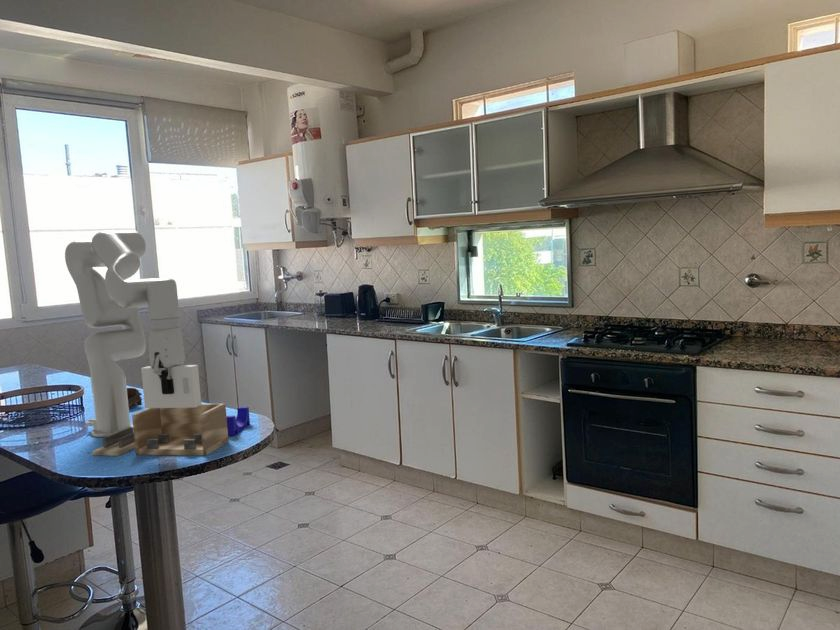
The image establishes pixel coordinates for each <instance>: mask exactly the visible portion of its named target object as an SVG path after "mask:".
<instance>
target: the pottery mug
mask: <svg viewBox="0 0 840 630" xmlns="http://www.w3.org/2000/svg"><path fill="white" fill-rule="evenodd" d="M139 391H140V390H138V389H137V388H134V387H127V396H128V406H129V407H132V406H134V405H136V404H137V405H142V401H143V398H142V397H141V396H143V394H142V393H141V392H139Z"/></svg>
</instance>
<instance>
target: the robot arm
mask: <svg viewBox="0 0 840 630" xmlns="http://www.w3.org/2000/svg"><path fill="white" fill-rule="evenodd" d="M146 247H147V246H146V241H145V238H144V237H143V236H142V234H141V233H140V232H138V231H136V230H132V229H131V230H130V229H128V230H127V229H124V230H121V229H120V230H115V229H113V230H110V229H109V230H102V231H99V232H97V233H95V235H93V237H92V238H91V239H79V240H74V241H71V242H70V243H68V245H66V247H65V252H64V260H65V264H66V268H67V270H68V273H69V275H70V276H71V278H72V280H73V282H74V284H75V287H76V291H77V295H78V299H79V304H80V309H81V313H82V314H81V315H82V317H83V320H84V323H85V325H86V326H87V327H89V328H92V329H105V328H111V327H119V326H120V327H122V329H113V330H104V331H98V332H95V333H92V334H90V335H88V337H86V339H85V340H84V343H83V347H84V352H85V356H86V359H87V364H88V366H89V372H90V380H91V386H92V397H93V406H94V415H95V418H89V419H88V420H87V422H86V427H93V429H92V430H91V431H90V432H91V433H90V434H91V436H92V437H95V438H106V437H108V436H111V435H113V434H115V433H118V432H120V431H122V430H124V429H127V428H129V427H133V422H131V417H130V408H129V407H130V406H128V396H127V388H128V387H127V379H126V374H125V372H124V370H123V369H122V368H121V367H120V366H119V365H118V364H117V363H116V362H118V361H122V360H129V359H135V358H139V357H141V356H143V355H144V354H145V352H146V349H147V342H146V336H145V331H144V327H143V323H142V318H141V312H140V310H139V309H140V308H142V307H148V319H149V328H150V332H149V335H148V336H149V338H148V355H149V356H148V357H149V358H148V359H149V365H150V367H151V368H152V369H153V372H154V373H155V374H157V375H158V376H159V379H160V380H161V387H162V394H173V393H174V387H173V379H171V367H173V366H176V365H186V353H185V352H186V351H185V345H184V338H183V334H182V330H181V329H182V328H181V318H180V308H179V298H178V297H179V296H178V287H177V286H178V285H177V282H176V281H175V279H173V278H156V277H155V278H140V279H139V278H138V279H130V278H131V277H132V276H133V277H134V275H135V274H137V272H138V270H139V269H140V267H141V260H140V259H141V258H142V257H143V256H144V255H145V253H146ZM105 267H106V268H107V270H106V272H105V277H103V276H102V275H101V273H99V272H98V271H97V270H95V269H94V268H105ZM163 366H164V368H163ZM163 370H166V372H165V371H163Z"/></svg>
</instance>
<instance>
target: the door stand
mask: <svg viewBox="0 0 840 630" xmlns="http://www.w3.org/2000/svg"><path fill="white" fill-rule="evenodd" d="M133 449H135V440H134V430H133V427H129V428H127V429H124V430H122V431H120V432H118V433H115V434H113V435H111V436H108V437H103V438H102V446H100V447H98V448H96V449H94V450H92V455H93V456H117V457H118V456H121V455H123V454H125V453H127V452H129V451H131V450H133Z"/></svg>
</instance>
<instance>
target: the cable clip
mask: <svg viewBox="0 0 840 630" xmlns="http://www.w3.org/2000/svg"><path fill="white" fill-rule="evenodd" d="M226 418H227V429H228V437H236V435H237V436H238V434H239V433H240V432H242V431H243V430H245V429H246V428H248V426H249V425H251V421H250V407H249V406H239V407H237V415H226Z"/></svg>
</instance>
